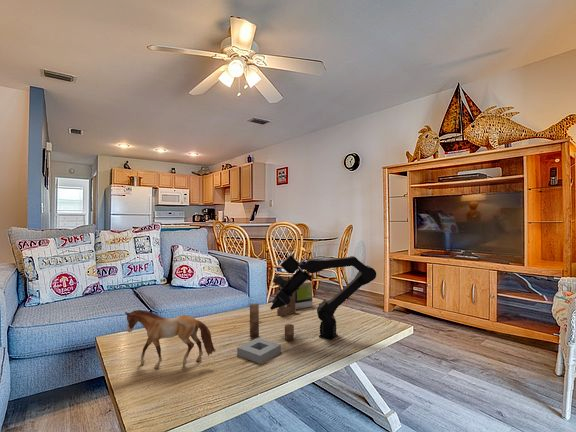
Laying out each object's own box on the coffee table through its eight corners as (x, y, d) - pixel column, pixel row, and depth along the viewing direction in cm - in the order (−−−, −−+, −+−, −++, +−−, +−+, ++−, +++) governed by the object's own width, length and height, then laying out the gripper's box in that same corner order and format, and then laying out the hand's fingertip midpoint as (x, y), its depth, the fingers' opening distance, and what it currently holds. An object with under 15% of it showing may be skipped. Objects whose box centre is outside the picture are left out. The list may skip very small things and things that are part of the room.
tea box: (304, 302, 189) (304, 279, 190) (312, 307, 180) (312, 282, 180) (282, 306, 183) (282, 281, 183) (289, 310, 174) (289, 284, 174)
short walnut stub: (295, 339, 132) (295, 325, 132) (290, 342, 129) (290, 328, 129) (288, 337, 134) (288, 323, 135) (282, 340, 131) (282, 326, 131)
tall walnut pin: (260, 335, 136) (260, 304, 136) (254, 338, 133) (254, 306, 133) (254, 333, 139) (254, 302, 139) (247, 336, 136) (247, 304, 136)
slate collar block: (281, 352, 119) (281, 344, 119) (260, 364, 110) (260, 355, 110) (258, 344, 126) (258, 337, 126) (237, 355, 117) (237, 347, 117)
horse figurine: (122, 372, 104) (122, 312, 104) (132, 362, 112) (132, 305, 112) (215, 367, 107) (215, 309, 107) (218, 357, 115) (218, 303, 115)
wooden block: (295, 312, 170) (295, 280, 171) (281, 316, 163) (281, 283, 163) (290, 310, 173) (290, 279, 173) (276, 315, 165) (276, 282, 166)
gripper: (284, 265, 145) (261, 288, 145) (282, 272, 126) (256, 298, 127) (301, 281, 145) (278, 305, 145) (301, 291, 126) (275, 317, 126)
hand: (271, 306), depth 136 cm, fingers open, 9 cm apart
